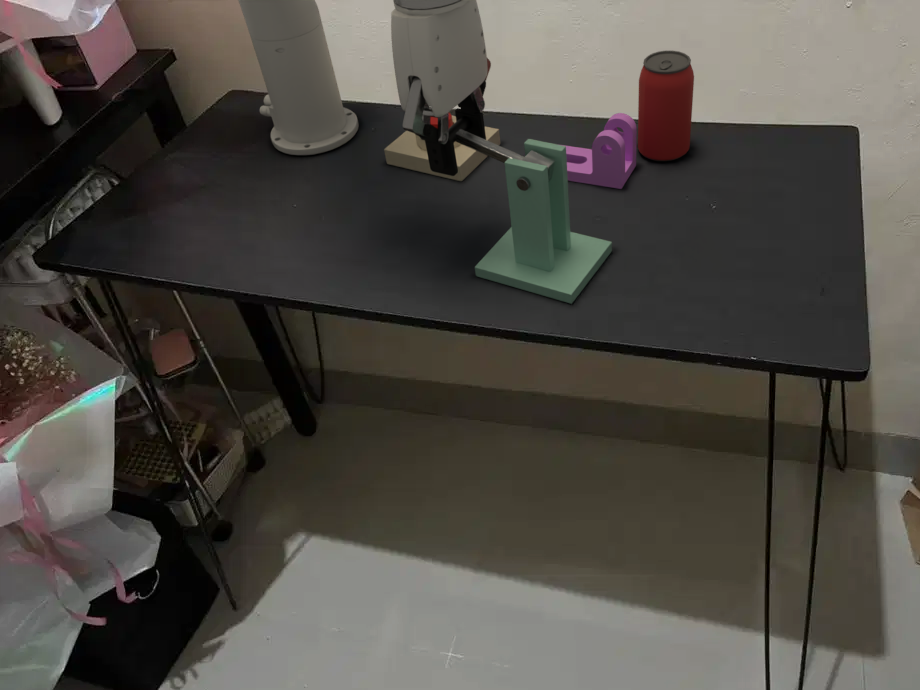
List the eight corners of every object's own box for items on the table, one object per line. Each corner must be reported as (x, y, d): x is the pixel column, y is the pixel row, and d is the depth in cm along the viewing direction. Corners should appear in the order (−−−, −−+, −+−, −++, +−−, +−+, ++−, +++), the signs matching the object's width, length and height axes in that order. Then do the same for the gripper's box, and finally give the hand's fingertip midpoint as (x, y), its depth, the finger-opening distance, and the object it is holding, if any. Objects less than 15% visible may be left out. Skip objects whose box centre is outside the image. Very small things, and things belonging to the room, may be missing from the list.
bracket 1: (475, 276, 93) (458, 167, 84) (519, 227, 99) (508, 120, 89) (571, 304, 88) (565, 192, 79) (612, 251, 94) (611, 140, 84)
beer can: (631, 160, 107) (632, 70, 98) (645, 134, 111) (647, 46, 103) (682, 166, 105) (688, 75, 96) (694, 140, 109) (701, 50, 100)
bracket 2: (636, 165, 106) (636, 115, 101) (621, 189, 103) (621, 137, 98) (541, 151, 111) (538, 102, 106) (524, 173, 107) (520, 123, 102)
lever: (434, 151, 87) (435, 132, 86) (460, 129, 90) (461, 109, 88) (535, 197, 84) (538, 178, 82) (558, 172, 87) (561, 153, 85)
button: (421, 133, 110) (418, 121, 109) (436, 120, 112) (434, 108, 111) (443, 138, 109) (441, 126, 107) (458, 125, 111) (456, 113, 109)
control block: (387, 163, 113) (381, 137, 110) (428, 128, 118) (423, 102, 115) (461, 181, 108) (457, 153, 105) (500, 143, 113) (497, 116, 110)
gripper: (447, -52, 84) (471, 116, 96) (343, 15, 74) (385, 193, 86) (512, -46, 80) (528, 127, 93) (412, 25, 71) (445, 207, 83)
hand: (459, 157), depth 90 cm, fingers closed on lever, 5 cm apart
